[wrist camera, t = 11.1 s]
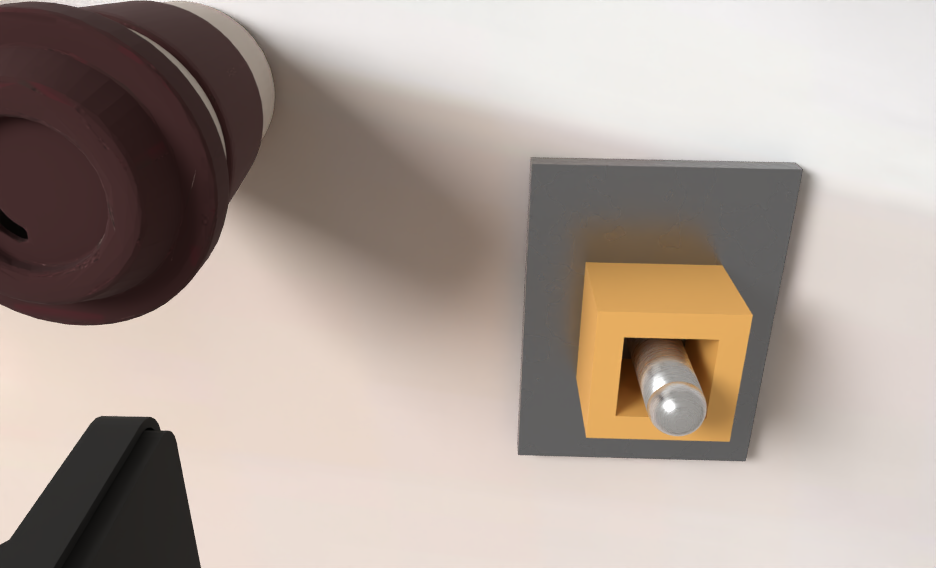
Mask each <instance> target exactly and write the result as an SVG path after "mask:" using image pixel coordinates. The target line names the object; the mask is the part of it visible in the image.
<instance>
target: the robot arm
mask: <svg viewBox="0 0 936 568" xmlns="http://www.w3.org/2000/svg"><path fill="white" fill-rule="evenodd" d="M0 568H201V566H200V561H199V556H198V550H197V545H196V540H195V535H194V530H193V525H192V520H191V514H190V509H189V504H188V499H187V494H186V489H185V484H184V478H183V473H182V468H181V463H180V458H179V453H178V448H177V442H176V439H175V436H174V434H173V433H172V432H171V431H161V430H160V427H159V424H158V423H157V421H156V420H155V419H154V418H152V417H120V416H101V417H98V418H96V419H95V420H94V421H93V422H92V423H91V424H90V425H89V427H88V428H87V430H86V431H85V432H84V434H83V435H82V437H81V438H80V440H79V441H78V442H77V444H76V445H75V447H74V448H73V450H72V451H71V452H70V454H69V455H68V457H67V458H66V460H65V461H64V463H63V464H62V465H61V467H60V468H59V470H58V471H57V473H56V474H55V475H54V477H53V478H52V480H51V481H50V483H49V484H48V485H47V487H46V488H45V490H44V491H43V493H42V494H41V495H40V497H39V498H38V500H37V501H36V503H35V504H34V505H33V507H32V508H31V510H30V511H29V513H28V514H27V515H26V517H25V518H24V520H23V521H22V523H21V524H20V525H19V527H18V528H17V530H16V531H15V533H14V534H13V535H12V537H11V538H10V540H8V541H6V542H4V543H3V544H1V545H0Z"/></svg>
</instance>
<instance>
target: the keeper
mask: <svg viewBox="0 0 936 568" xmlns="http://www.w3.org/2000/svg"><path fill="white" fill-rule="evenodd" d="M802 171H803V169H802V168H801V167H800V166H798V165H797V164H796V163H785V162H735V161H686V160H636V159H586V158H536V157H531V164H530V186H529V207H528V228H527V250H526V271H525V293H524V314H523V335H522V357H521V378H520V399H519V421H518V442H517V445H518V455H539V456H575V457H612V458H648V459H685V460H721V461H746V457H747V451H748V446H749V441H750V436H751V431H752V426H753V421H754V416H755V411H756V406H757V401H758V395H759V390H760V385H761V380H762V375H763V370H764V365H765V360H766V355H767V350H768V344H769V339H770V334H771V329H772V324H773V319H774V314H775V309H776V304H777V299H778V294H779V288H780V283H781V278H782V273H783V268H784V263H785V258H786V253H787V248H788V243H789V238H790V232H791V227H792V222H793V217H794V212H795V207H796V202H797V197H798V192H799V187H800V182H801V176H802ZM586 262H597V263H641V264H684V265H723V267H724V269H725V270H726V272H727V274H728V275H729V277H730V278H731V280H732V282H733V283H734V285H735V287H736V288H737V290H738V292H739V293H740V295H741V297H742V298H743V300H744V301H745V303H746V305H747V306H748V308H749V310H750V311H751V313H752V315H753V317H752V322H751V328H750V333H749V339H748V344H747V350H746V355H745V361H744V366H743V371H742V377H741V382H740V388H739V393H738V399H737V404H736V409H735V415H734V420H733V426H732V431H731V437H730V442H723V441H686V440H650V439H613V438H586V433H585V427H584V422H583V416H582V410H581V404H580V398H579V392H578V386H577V380H576V374H577V362H578V350H579V337H580V325H581V313H582V301H583V289H584V276H585V264H586ZM685 342H686V339H670V338H630V337H624V342H623V351H622V359H632V362H633V366H634V369H635V372H636V376H637V379H638V383H639V386H640V389H641V393H642V396H643V400H644V403H645V406H646V410H647V413H648V416H649V418H650V420H651V422H652V423H653V425H654V426H655V427H656V428H657V429H658V430H660V431H661V432H663V433H665V434H667V435H671V436H685V435H688V434H691V433H693V432H694V431H696V430H697V429H698V428H699V427H700V426H701V424H702V423H703V421H704V419H705V417H706V412H707V403H706V399H705V396H704V394H703V391H702V389H701V387H700V384H699V382H698V379H697V377H696V375H695V372H694V370H693V367H692V365H691V363H690V360H689V358H688V355H687V353H686V351H685Z"/></svg>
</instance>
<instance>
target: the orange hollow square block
mask: <svg viewBox="0 0 936 568" xmlns="http://www.w3.org/2000/svg"><path fill="white" fill-rule="evenodd" d="M752 317H753V315H752V313H751V311H750V310H749V308H748V306H747V305H746V303H745V301H744V300H743V298H742V297H741V295H740V293H739V292H738V290H737V288H736V287H735V285H734V283H733V282H732V280H731V278H730V277H729V275H728V274H727V272H726V270H725V269H724V267H723V265H684V264H641V263H597V262H586V264H585V276H584V289H583V301H582V313H581V325H580V337H579V350H578V362H577V374H576V380H577V386H578V392H579V398H580V404H581V410H582V416H583V422H584V427H585V433H586V438H613V439H650V440H686V441H723V442H730V437H731V431H732V426H733V420H734V415H735V409H736V404H737V399H738V393H739V388H740V382H741V377H742V371H743V366H744V361H745V355H746V350H747V344H748V339H749V333H750V328H751V322H752ZM624 337H630V338H670V339H686V342H685V351H686V353H687V355H688V358H689V360H690V363H691V365H692V367H693V370H694V372H695V375H696V377H697V379H698V382H699V384H700V387H701V389H702V391H703V394H704V396H705V399H706V403H707V412H706V417H705V419H704V421H703V423H702V424H701V426H700V427H699V428H698V429H697V430H696V431H694V432H693V433H691V434H688V435H685V436H671V435H667V434H665V433H663V432H661V431H660V430H658V429H657V428H656V427H655V426H654V425H653V423H652V422H651V420H650V418H649V416H648V413H647V410H646V406H645V403H644V400H643V396H642V393H641V389H640V386H639V383H638V379H637V376H636V372H635V369H634V366H633V362H632V359H622V351H623V342H624Z"/></svg>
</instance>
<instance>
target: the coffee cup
mask: <svg viewBox="0 0 936 568" xmlns="http://www.w3.org/2000/svg"><path fill="white" fill-rule="evenodd" d="M274 102H275V89H274V82H273V77H272V73H271V69H270V66H269V64H268V62H267V60H266V57H265V55H264V53H263V51H262V50H261V48H260V47H259V45H258V44H257V42H256V41H255V39H254V38H253V37H252V36H251V35H250V34H249V33H248V32H247V31H246V29H245V28H244V27H243V26H241V25H240V24H239V23H237V22H236V21H235V20H234V19H232V18H231V17H229V16H228V15H226V14H224V13H223V12H221V11H219V10H217V9H214V8H212V7H209V6H206V5H203V4H199V3H194V2H187V1H171V2H164V3H161V2H154V1H128V2H120V3H111V4H103V5H95V6H87V7H79V8H77V7H72V6H68V5H63V4H57V3H48V2H20V3H10V4H3V5H0V304H1V305H3V306H5V307H8V308H10V309H12V310H14V311H16V312H19V313H22V314H25V315H28V316H31V317H34V318H37V319H41V320H46V321H51V322H57V323H62V324H69V325H102V324H113V323H117V322H122V321H127V320H130V319H133V318H136V317H140V316H142V315H144V314H147V313H149V312H151V311H153V310H155V309H157V308H159V307H160V306H162V305H164V304H166V303H167V302H168V301H169V300H171V299H172V298H173V297H174V296H176V295H177V294H178V293H179V292H180V291H181V290H182V289H183V288H184V287H186V285H187V284H188V283H189V282H190V281H191V280H192V279H193V277H194V276H195V275H196V273H197V272H198V271H199V269H200V268H201V267H202V266H203V264H204V263H205V262H206V260H207V259H208V258H209V256H210V254H211V252H212V251H213V249H214V247H215V245H216V244H217V242H218V240H219V237H220V234H221V231H222V228H223V225H224V222H225V217H226V213H227V208H228V204H229V202H230V201H231V199H232V197H233V196H234V194H235V192H236V191H237V189H238V187H239V186H240V184H241V183H242V181H243V179H244V178H245V176H246V174H247V173H248V171H249V169H250V168H251V166H252V164H253V162H254V160H255V158H256V156H257V153H258V150H259V147H260V143H261V140H262V139H263V137H264V135H265V134H266V132H267V130H268V128H269V125H270V123H271V120H272V116H273V112H274Z"/></svg>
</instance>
